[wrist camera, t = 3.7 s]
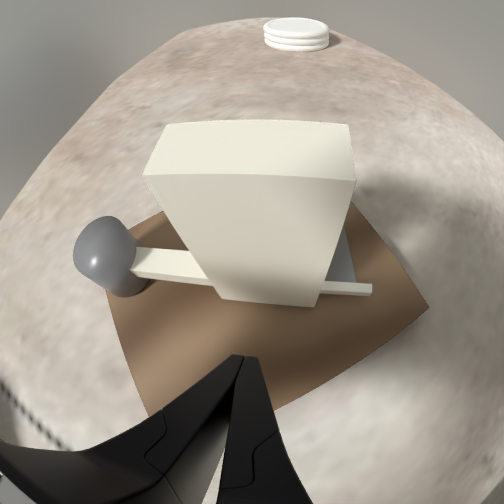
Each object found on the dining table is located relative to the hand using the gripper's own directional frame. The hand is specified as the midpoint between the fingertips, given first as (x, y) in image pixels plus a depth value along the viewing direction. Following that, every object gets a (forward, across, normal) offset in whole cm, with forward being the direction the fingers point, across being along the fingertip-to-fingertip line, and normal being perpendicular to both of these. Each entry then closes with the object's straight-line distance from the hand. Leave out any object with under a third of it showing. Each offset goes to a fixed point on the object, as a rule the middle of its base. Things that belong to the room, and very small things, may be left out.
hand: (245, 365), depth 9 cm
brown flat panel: (+9, +2, +2) cm, 9 cm away
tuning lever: (+7, +3, 0) cm, 8 cm away
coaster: (+36, 0, -26) cm, 45 cm away
